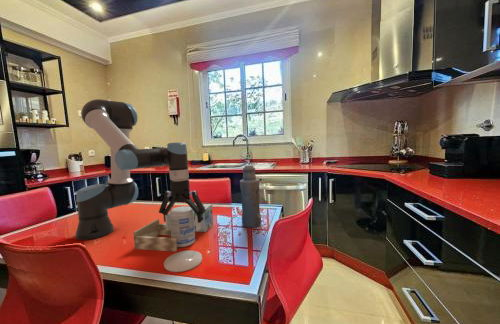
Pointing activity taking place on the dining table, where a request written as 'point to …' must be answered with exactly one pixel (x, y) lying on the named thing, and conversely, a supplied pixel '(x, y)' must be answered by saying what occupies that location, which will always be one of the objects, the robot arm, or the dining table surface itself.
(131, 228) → the dining table surface
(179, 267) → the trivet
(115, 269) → the dining table surface
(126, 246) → the dining table surface
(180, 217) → the supplement tub
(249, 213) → the bottle
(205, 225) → the light bulb box
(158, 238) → the shelf bay
